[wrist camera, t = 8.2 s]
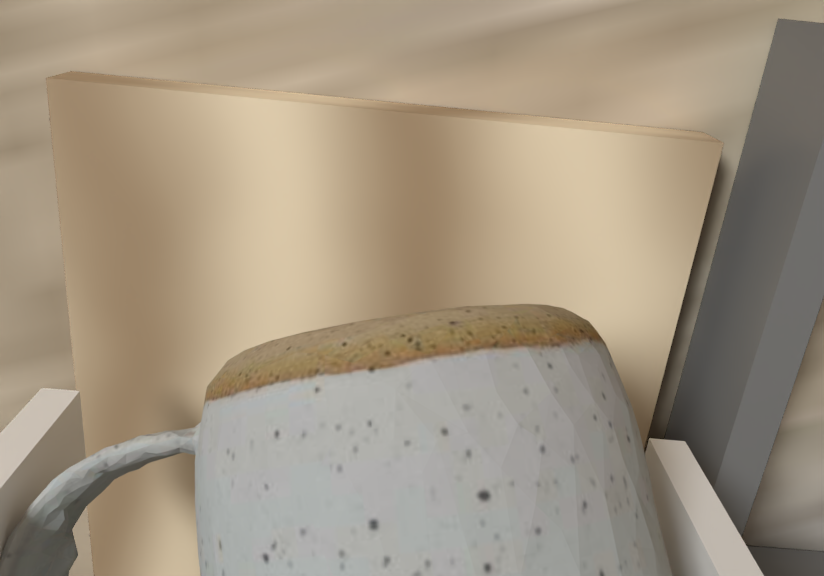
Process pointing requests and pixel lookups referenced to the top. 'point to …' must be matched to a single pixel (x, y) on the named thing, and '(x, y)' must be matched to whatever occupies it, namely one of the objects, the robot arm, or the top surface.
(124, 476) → the beige square panel
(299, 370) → the ceramic mug
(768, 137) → the case
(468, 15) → the top surface
